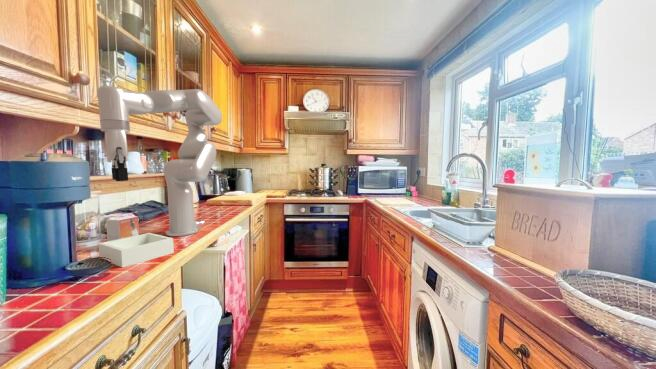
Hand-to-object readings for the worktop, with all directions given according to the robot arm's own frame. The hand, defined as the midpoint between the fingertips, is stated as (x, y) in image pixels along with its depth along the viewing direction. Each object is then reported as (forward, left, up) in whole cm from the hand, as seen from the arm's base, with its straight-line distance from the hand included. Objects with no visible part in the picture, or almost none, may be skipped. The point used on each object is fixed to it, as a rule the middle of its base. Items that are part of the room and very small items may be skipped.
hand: (120, 180), depth 91 cm
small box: (-4, -9, -25) cm, 27 cm away
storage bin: (-1, +7, -25) cm, 25 cm away
